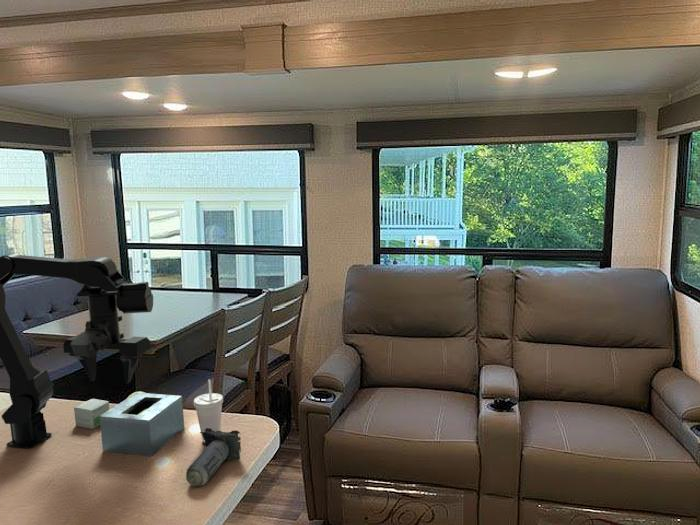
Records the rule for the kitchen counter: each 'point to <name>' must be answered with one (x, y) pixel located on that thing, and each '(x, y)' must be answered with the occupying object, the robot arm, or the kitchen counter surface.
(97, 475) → the kitchen counter surface
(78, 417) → the small box
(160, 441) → the box
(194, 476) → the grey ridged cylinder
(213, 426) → the smoothie
